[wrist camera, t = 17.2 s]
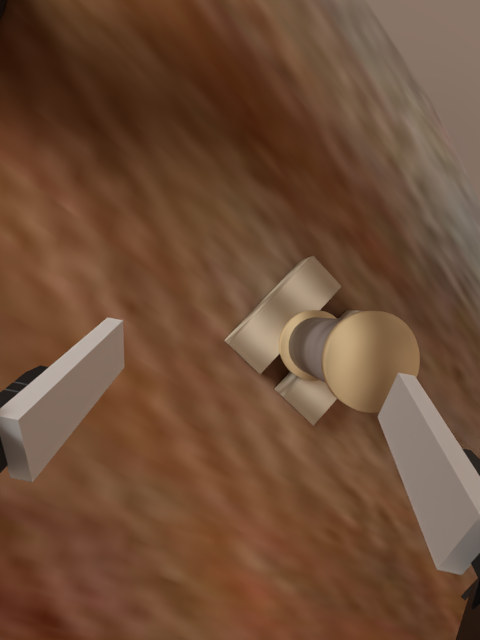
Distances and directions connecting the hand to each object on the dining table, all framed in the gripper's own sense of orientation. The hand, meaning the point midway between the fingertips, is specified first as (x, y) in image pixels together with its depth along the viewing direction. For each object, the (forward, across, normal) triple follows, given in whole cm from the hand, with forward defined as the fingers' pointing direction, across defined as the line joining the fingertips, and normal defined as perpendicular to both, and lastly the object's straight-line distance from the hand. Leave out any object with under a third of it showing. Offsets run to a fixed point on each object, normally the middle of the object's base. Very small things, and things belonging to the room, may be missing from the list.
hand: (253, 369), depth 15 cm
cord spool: (+20, +7, -9) cm, 22 cm away
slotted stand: (+23, +6, -10) cm, 26 cm away
